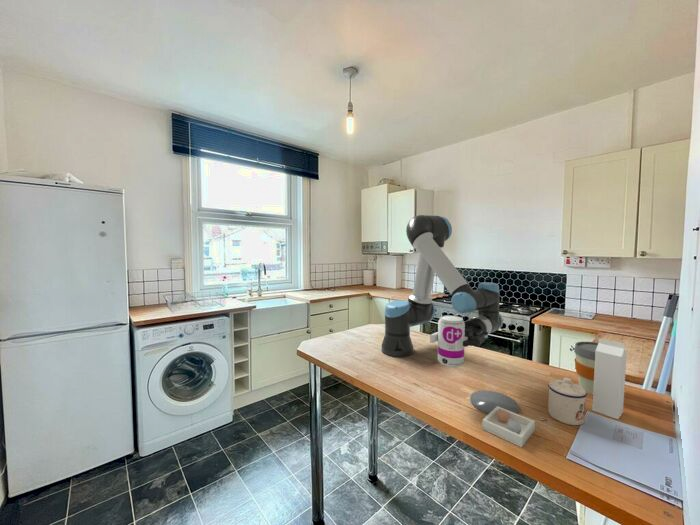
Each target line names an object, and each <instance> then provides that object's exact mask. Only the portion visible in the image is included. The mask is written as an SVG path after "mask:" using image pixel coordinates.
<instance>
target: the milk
mask: <svg viewBox="0 0 700 525" xmlns="http://www.w3.org/2000/svg"><path fill="white" fill-rule="evenodd" d="M597 343H598V346H597V348H596V352H595V370H594V389H593V394H592V395H593V396H592V411H594V412H596V413H599V414H601V415H604V416H607V417H609V418H613V419H615V420H619V419H620V417H621V415H622V414H623V412H624V400H625V385H626V368H627V366H626V365H627V353H628V352H627V350H626V344H625V343H623V342H619V341H615V340H608V339H605V338H604V339H603V338H598V342H597Z"/></svg>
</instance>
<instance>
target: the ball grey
mask: <svg viewBox="0 0 700 525" xmlns="http://www.w3.org/2000/svg"><path fill="white" fill-rule="evenodd" d="M508 429H509V430H510V431H512V432H515V433H517V434H518V433H520V431H521V426H520V424H519V423H518V422H517V421H515V420H511V421H509V422H508Z"/></svg>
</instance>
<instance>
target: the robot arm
mask: <svg viewBox="0 0 700 525" xmlns="http://www.w3.org/2000/svg"><path fill="white" fill-rule="evenodd" d="M406 225H407V226H406V231H405V232H406V236H407V239H408V241H409V243H410V244H411V246H412V247H413V249H415V250H418V252H419V255H418V261H417V268H416V273H415V278H414V284H413V287H412V288H413V289H412V293H411V294H409V295H408V299H407V300H405V299H404V300H403V299H401V300H400V299H399V300H396V299H395V300H392V301H389V302H387V303H386V305H385V308H384V337H383V340H382V344H381V352H382V353H383V354H385V355H387V356H390V357H397V358H398V357H400V358H402V357H407V356H411V355H412V354H414V352H415V351H414V349H415V348H414V345H413V340H412V338H411V328H412V327H416V326H420V325H425V324H428V323H430V322H431V321H433V319H434V318H435V314H436V308H435V305H434V303H433V302H434V301H433V299H432V297H431V296H432V295H431V294H432V290H433V284H434V279H435V275H436V277H437V278H438V279H439V281H440V282H441V284H442V285H443V286H444V288H445V289H446V291H448V293H449V295H450V296H451V299H450V303H451V306H452V309H453V310H454V311H455V312H457V313H458V314H459V313H460V314H469V313H473V312H476V311H477V316H474V317H472V318H469V319H467V320H465V321H464V323H465V337H464V338H462V339H460V340H457V341H455V350H457V351H458V350H460V349H462V348H464V349H465V347H469V346H471V347H472V346H474V347H475V348H479V347H480V346H481V345H482V344H483V343H484V342H485V341H487V340H489V335H490V334H493V333H494V332H497V331H498V330H500V328H502V327H503V324H504V319H503V316H502V315H501V314H500V295H501V294H500V286H499V285H500V284H498V283H495V282H489V281H487V282H479V283H478V286H477V289H473V288H472V287H471V286H470V284H469V283H468V282H467V280H466V279H465V278H464V277H463V275H462V274H461V273H460V271H459V270H458V269H457V267H455V265H454V264H453V262H452V261H451V260H450V259H449V257H448V256H447V255H446V254H445V251H443V248H444V246H445V242H446V241H448V239H450V237H451V235H452V232H453V229H452V228H453V227H452V225H451V223H450V221H449V219H448V218H447V217H445V216H441V215H425V214H420V215H419V214H418V215H415V216H413V217H412V218H410V220H409V221H408V223H407V224H406ZM434 330H435V332H434V333H432V334H430V336H429V337H430V339H429V340H430V342H429V343H430V344H434V343H436V342H438V327H435V329H434Z"/></svg>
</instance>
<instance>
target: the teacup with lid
mask: <svg viewBox="0 0 700 525" xmlns="http://www.w3.org/2000/svg"><path fill="white" fill-rule="evenodd" d="M547 386H548V407H547V408H548V410H547V412H548V414H549V415H550V416H551V417H552V418H553V419H555V420H556V421H558V422H560V423H563V424H566V425H570V426H580V425H583V424H584V423H585V416H586V414H585V412H586V397H587V395H588V394H587V393H588V392H586V391H585V389H584V388H582V387H581V386H579V384H577V383H574V382H573V380H572V379H571V378H569V377H563V379H553V380H550V381H549V383H548V385H547Z"/></svg>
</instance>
